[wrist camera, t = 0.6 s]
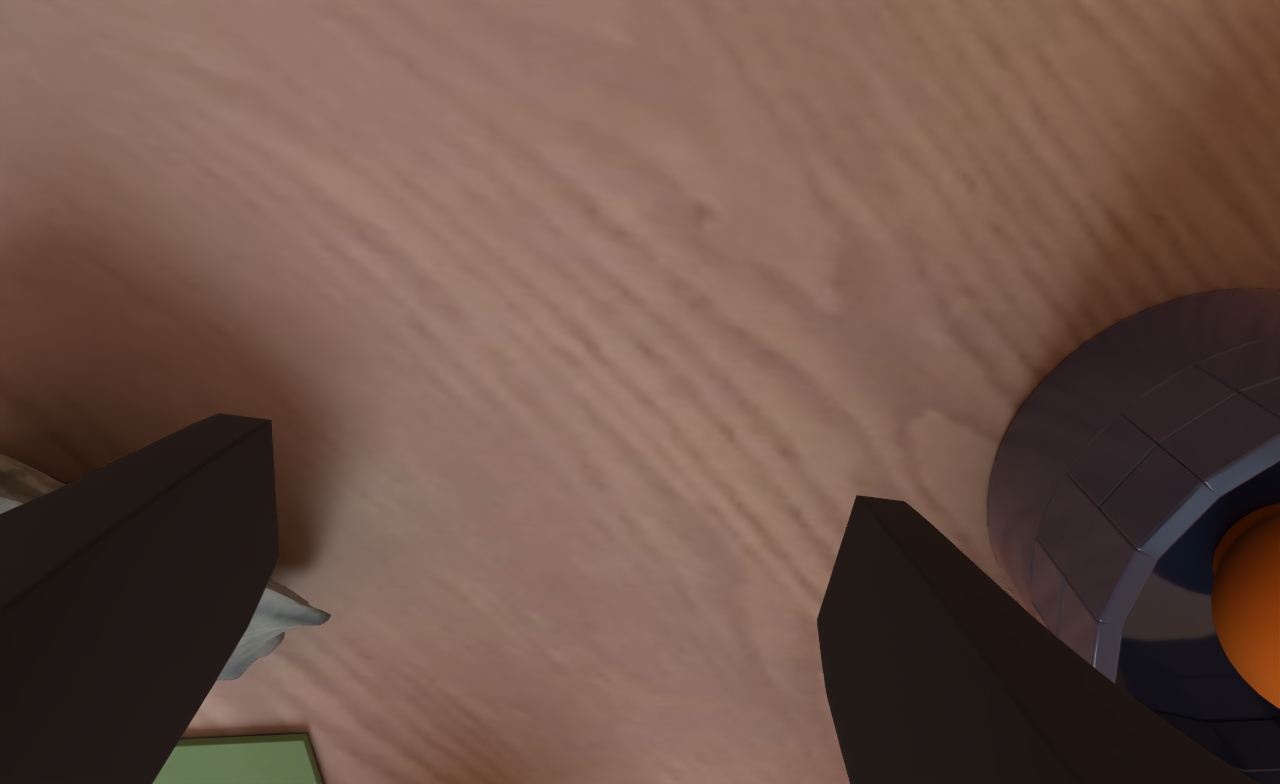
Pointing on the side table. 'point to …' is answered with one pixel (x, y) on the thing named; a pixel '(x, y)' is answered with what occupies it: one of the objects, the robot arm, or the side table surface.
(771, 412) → the side table surface
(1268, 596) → the orange
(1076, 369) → the pot
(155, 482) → the robot arm
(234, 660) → the stone
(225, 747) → the green flat plate
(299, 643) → the side table surface
